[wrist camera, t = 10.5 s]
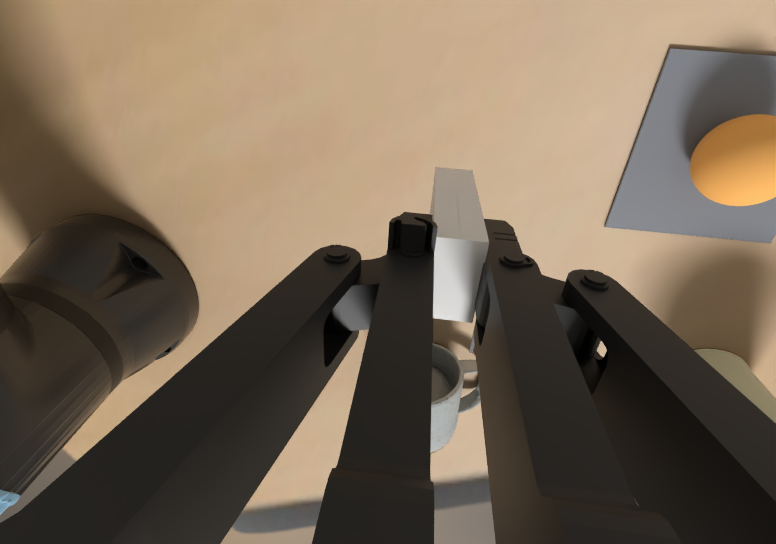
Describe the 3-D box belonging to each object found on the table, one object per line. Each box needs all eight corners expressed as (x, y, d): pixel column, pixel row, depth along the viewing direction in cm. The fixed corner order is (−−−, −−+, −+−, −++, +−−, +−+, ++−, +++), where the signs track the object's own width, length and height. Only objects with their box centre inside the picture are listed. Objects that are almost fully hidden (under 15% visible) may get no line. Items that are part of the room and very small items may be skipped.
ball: (692, 211, 25) (797, 225, 24) (735, 117, 22) (856, 128, 21) (665, 185, 30) (752, 195, 28) (698, 104, 27) (795, 112, 26)
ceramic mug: (386, 398, 44) (378, 464, 37) (381, 339, 39) (371, 400, 33) (486, 401, 42) (497, 469, 36) (493, 341, 38) (506, 405, 32)
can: (673, 337, 36) (767, 461, 26) (774, 361, 36) (908, 494, 26) (620, 406, 41) (682, 534, 30) (709, 427, 41) (801, 561, 30)
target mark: (604, 226, 31) (605, 227, 31) (669, 48, 25) (670, 48, 25) (768, 242, 31) (770, 243, 30) (877, 62, 24) (880, 63, 24)
